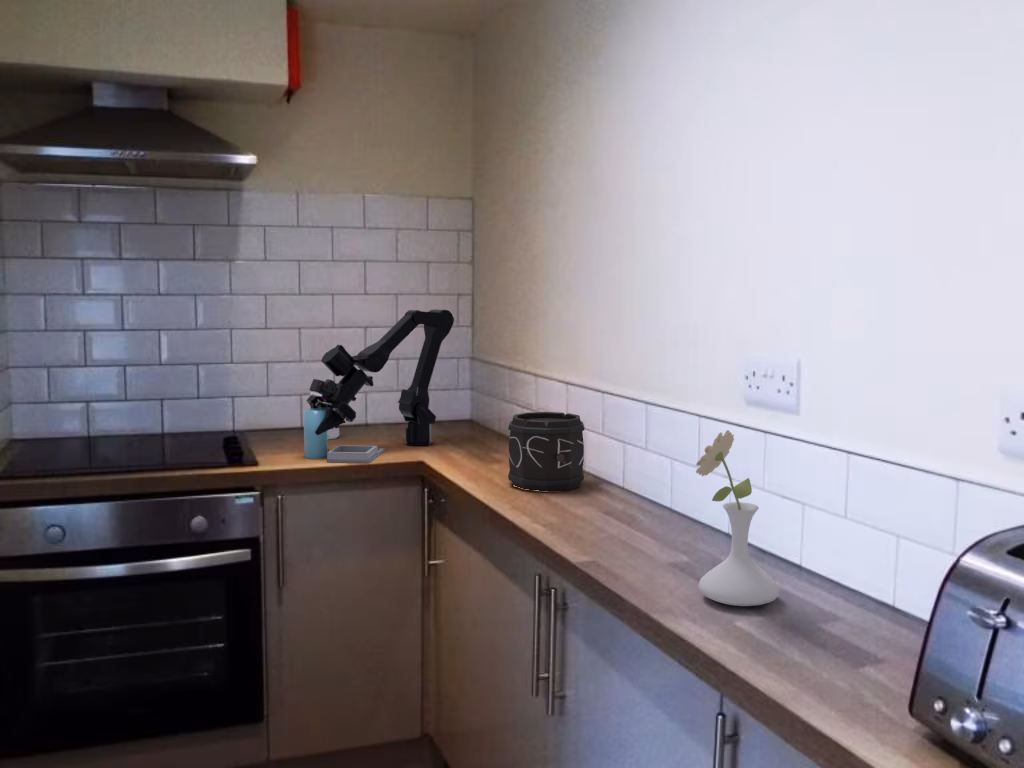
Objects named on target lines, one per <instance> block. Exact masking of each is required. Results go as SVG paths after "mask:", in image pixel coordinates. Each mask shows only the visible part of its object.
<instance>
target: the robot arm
mask: <svg viewBox="0 0 1024 768" xmlns="http://www.w3.org/2000/svg"><path fill="white" fill-rule="evenodd" d="M454 323H455V317H454V316H453V314H452V312H451V311H450V310H448V309H438V308H437V309H436V308H435V309H430V310H428V311H424V310H423V311H421V310H418V309H409V310H407V311H406V312H405V314H404V315H403V316H402V317H401V318H400V319H399V320H398V321H397V322H396V323H395V324H394V325H393V326H391V328H389V330H388V331H387V332H386V333H385V334H384V335H382V337H381V338H380V339H379V340H378V341H376V342H374V343H372V344H370V345H368V346H367V347H365V348H363V349H362V350H361V351H359V352H358V353H357V354H356V355H353V356H352V355H351V354H350V353H349V352H348V351H347V349H345V346H343V345H342V344H336V346H335V347H333V348H331V349H330V350H328V351H326V352H325V353H324V355H323V356H322V358H321V361H320V362H321V363H322V364H324V366H325V367H327V369H328V370H329V371H330V372H331V373H332V374H333V375H334V376H335V377H342V378H341V379H340V380H339V381H338V382H335V380H332V379H328V378H327V379H326V380H321V379H318V378H317V379H316V378H312V379H313V380H312V382H311V384H310V385H309V386H310V387H309V388H308V389H309V391H310V392H311V391H315V392H317V393H319V394H322V396H317V395H309V396H308V398H307V399H306V400H305V401H306V403H308V404H309V407H310V409H312V408H323V409H326V416H325V417H324V419H323V420H322V422H321V423H320V425H319V426H318V428H317V430H316V431H315V433H316V434H317V435H320V434H322V433H324V432H326V431H328V430H330V429H332V428H334V427H336V426H338V425H339V426H340V425H342V424H346V422H349V423H353V422H354V420H355V419H356V418H357V412H356V411H355V410H354V409H353V408H352V407H351V406H350V405H349V404H350V403H351V402H356V400H357V397H356V396H357V394H358V393H359V392H360V391H361V389H362V388H363V387H364V386H367V387H368V386H369V387H374V376H372V375H368V374H366V373H365V372H367V373H368V372H369V373H378V372H380V371H382V370H383V368H384V367H385V365H386V364H387V362H388V361H389V358H390V355H391V353H393V351H394V350H395V349H396V348H397V347H398V346H399V345H400V344H401V343H402V342H403V341H404V340H405V339H406V338H407V337H408V336H409V335H410V334H411V332H413V331H414V330H415V329H416V328H417V327H418V326H419V325H423V331H424V341H423V343H422V348H421V351H420V354H419V357H418V358H419V359H418V361H417V365H416V368H415V370H414V374H413V378H412V382H411V383H410V386H409V387H408V389H401V393H400V397H399V400H398V401H397V403H398V410H399V412H400V414H401V415H402V417H403V420H404V422H407V427H406V428H405V442H406V445H407V446H430V445H431V444H432V443H433V442H434V441H433V440H432V424H435V422H436V419H437V416H436V414H435V413H434V412H433V411H432V410H430V408H429V405H430V396H429V395H430V394H429V387H430V382H431V380H432V376H433V372H434V370H435V366H436V362H437V359H438V356H439V352H440V349H441V346H442V344H443V341H444V340H445V339H446V338H447V337H448V335H449V334H450V332H451V330H452V328H453V326H454ZM324 399H325V400H326V401H325V400H324Z"/></svg>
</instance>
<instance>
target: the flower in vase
mask: <svg viewBox="0 0 1024 768" xmlns="http://www.w3.org/2000/svg"><path fill="white" fill-rule="evenodd" d="M734 436H735V434H733V433H732V432H731V431H730V430H728V429H727V430H726V431H725V432H724V434H723V432H722V431H721V432H719V433H718V435H717V436H716V438H715V439H714V440H713V443H712V445H706V447H705V448H704V453H705V454H703V455H701V457H700V458H699V460H698V461H697V462H696V465H695V466H697V467H698V468H696V470H695V473H696V474H698V475H699V476H700V475H701V477H704V476H708V475H710V473H712V472H713V471H715V469H717V468H719V467H720V465H721V464H723V466H724V468H725V471H726V474H727V477H728V480H729V483H730V486H724V487H722V488H720V489H719V490H717V491H716V492H715V493H714V495H713V496H712V499H711V501H713V502H723V501H724V500H725V499H726V498H728V496H729V495H730V493H731V492H732V494H733V496H734V499H735V502H734V501H732V502H727V503H724V504H722V508H723V509H724V510H725V512H726V514H727V516H728V519H729V522H730V529H731V546H730V547H731V549H730V553H729V555H728V556H727V558H726V559H725V560H723V561H721V562H720V563H719V564H717V565H716V566H714V567H713V568H711V569H710V570H709V571H707V572H706V573H705V574H704V575H703V576H702V577H701V578H700V580H699V582H698V585H697V587H698V589H699V591H700V593H701V594H702V595H703V596H704V597H706V598H708V599H710V600H712V601H715V602H718V603H721V604H724V605H728V606H729V605H730V606H736V607H737V606H738V607H754V606H761V605H764V604H768V603H771V602H773V601H775V600H776V599H777V598H778V596H779V595H780V589H779V586H778V584H777V583H776V581H774V579H773V578H772V577H771V576H770V575H769V574H768V573H767V572H765V571H764V570H763V569H762V568H761V567H759V566H758V565H757V564H756V563H755V562H754V561H753V559H752V558H751V557H750V554H749V547H748V546H749V545H748V542H749V541H748V540H749V531H750V527H751V523H752V519H753V517H754V516H755V514H756V512H758V511H759V509H760V507H759V506H758V505H757V504H754V503H751V502H750V503H749V502H740V499H743V498H745V497H749V496H751V494H752V492H753V491H752V489H753V488H752V485H751V480H750V478H749V477H747V478H746V479H744V480H743V481H741V482H739V483H738V484H736V485H735V486H734V483H733V479H732V476H731V473H730V469H729V467H728V465H727V463H726V461H725V459H726V457H727V456H728V455H729V453H730V449H731V448H732V446H733V443H734V440H735V438H734Z"/></svg>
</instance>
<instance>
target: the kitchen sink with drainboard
mask: <svg viewBox="0 0 1024 768" xmlns="http://www.w3.org/2000/svg"><path fill="white" fill-rule="evenodd" d="M384 452H385V448H384V447H383V448H381V447H378V445H345V444H343V445H341V444H339V445H337V446H335V447H333V448H331V449H330V450H329V451H328V452H327V457H326V463H335V464H336V463H338V464H339V463H340V464H343V463H345V464H349V463H350V464H369V463H371V462H372V461H374V460H375V459H376V458H377V457H378V456H380V455H381V454H383V453H384Z"/></svg>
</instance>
